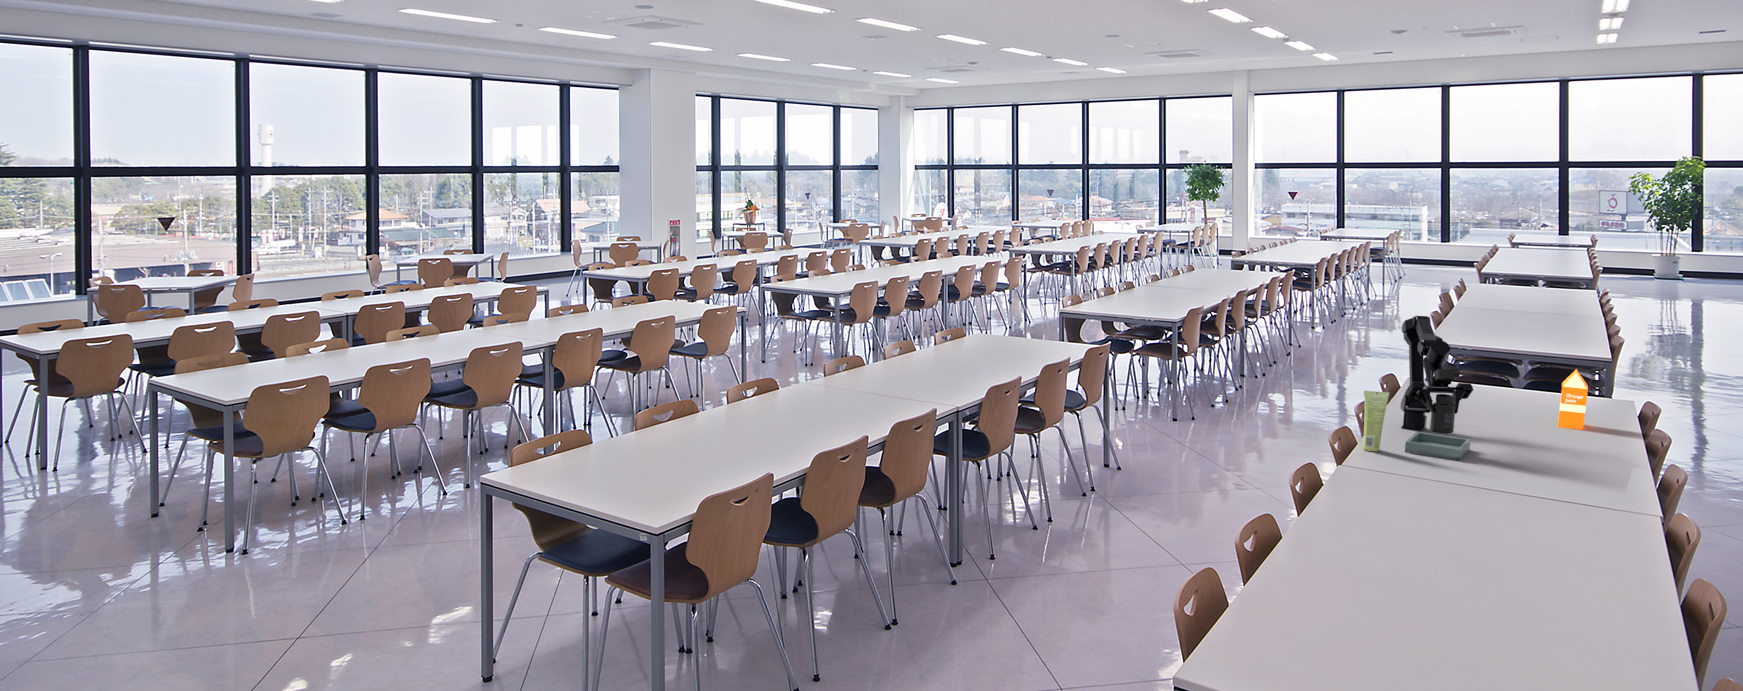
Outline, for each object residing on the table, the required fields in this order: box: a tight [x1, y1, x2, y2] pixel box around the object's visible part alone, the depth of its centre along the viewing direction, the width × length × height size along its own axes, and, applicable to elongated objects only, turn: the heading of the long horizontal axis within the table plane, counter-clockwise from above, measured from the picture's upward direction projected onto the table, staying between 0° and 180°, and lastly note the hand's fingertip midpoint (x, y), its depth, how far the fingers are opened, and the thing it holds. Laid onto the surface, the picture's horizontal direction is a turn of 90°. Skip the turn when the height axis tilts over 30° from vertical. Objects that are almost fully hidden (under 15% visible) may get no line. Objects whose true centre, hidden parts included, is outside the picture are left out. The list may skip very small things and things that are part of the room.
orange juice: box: [1557, 368, 1589, 431], centre depth 383 cm, size 8×9×20 cm
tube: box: [1362, 390, 1390, 452], centre depth 351 cm, size 6×5×20 cm
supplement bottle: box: [1429, 393, 1456, 435], centre depth 349 cm, size 7×7×12 cm
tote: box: [1404, 431, 1472, 461], centre depth 351 cm, size 16×16×4 cm
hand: (1444, 412), depth 347 cm, fingers closed on supplement bottle, 7 cm apart
